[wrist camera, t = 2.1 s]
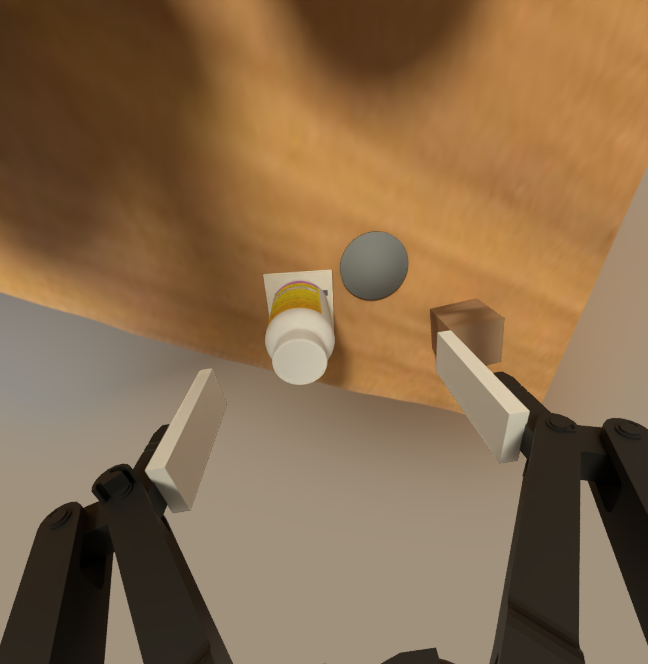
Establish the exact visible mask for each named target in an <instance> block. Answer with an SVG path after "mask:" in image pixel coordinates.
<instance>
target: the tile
mask: <svg viewBox="0 0 648 664" xmlns="http://www.w3.org/2000/svg"><path fill="white" fill-rule="evenodd" d="M263 277H264V284H265V291H266V297H267V304H268V311H269V317H270V313H271V308H272V303H273V299H274V296H275V294H276V292H277V291H278V290H279V288H280V287H282V286H283V285H284V284H286V283H288V282H290V281H293V280H306V281H310V282H312V283H314V284H316V285H317V286H319V287H320V288H321V289H322V291H323V292H324V294H325V296H326V298H327V302H328V306H329V312H330V317H331V322H332V326H333V331H334V318H333V291H332V270H317V271H302V272H287V273H272V274H263Z"/></svg>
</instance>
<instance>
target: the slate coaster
mask: <svg viewBox="0 0 648 664" xmlns="http://www.w3.org/2000/svg"><path fill="white" fill-rule="evenodd" d="M407 270H408V256H407V252H406V250H405V248H404V246H403V244H402V243H401V242H400V241H399V240H398V239H397V238H396V237H394V236H392V235H390V234H388V233H385V232H380V231H374V232H368V233H365V234H363V235H360V236H359V237H357V238H356V239H354V240H353V241H352V242H351V243H350V244H349V245H348V247H347V248H346V249H345V251H344V253H343V255H342V258H341V263H340V274H341V278H342V280H343V283H344V285H345V286H346V288H347V289H348V290H349V291H350V292H351V293H352V294H354V295H355V296H357V297H360V298H363V299H368V300H374V299H380V298H383V297H385V296H387V295H389V294H391V293H392V292H394V291H395V290H396V289H397V288H398V287H399V286H400V285H401V283H402V282H403V280H404V278H405V276H406V273H407Z"/></svg>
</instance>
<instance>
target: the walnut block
mask: <svg viewBox="0 0 648 664" xmlns="http://www.w3.org/2000/svg"><path fill="white" fill-rule="evenodd" d="M430 318H431V335H432V348H433V349H434V351H435V352H436V353H437V332H443V331H449V330H451V331H452V332H453V333H454V334H455V335H456V336H457V337H458V338H459V339H460V340H461V341H462V342H463V343H464V344H465V345H466V346H467V348H468V349H469V350H470V351H471V352H472V353H473V354H474V355H475V356H476V357H477V358H478V359H479V360H480V361H481V362H482V363H483V364H484V365H490V364H494V363H499V362H501V358H502V345H503V333H504V320H505V318H504V317H502V316H501V315H500V314H498V313H497V312H495V311H494V310H492V309H491V308H489V307H488V306H487V305H485V304H484V303H482V302H481V301H479V300H478V299H477V298H476V299H472V300H467V301H463V302H459V303H454V304H450V305H446V306H441V307H437V308H433V309H430Z"/></svg>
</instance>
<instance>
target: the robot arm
mask: <svg viewBox="0 0 648 664" xmlns="http://www.w3.org/2000/svg"><path fill="white" fill-rule="evenodd" d="M436 372H437V374H438V375H439V377H440V378H441V379H442V381H443V382H444V384H445V385H446V387H447V388H448V390H449V391H450V393H451V394H452V395H453V397H454V398H455V400H456V401H457V403H458V404H459V406H460V407H461V408H462V410H463V411H464V413H465V414H466V416H467V417H468V419H469V420H470V421H471V423H472V424H473V426H474V427H475V429H476V430H477V431H478V433H479V434H480V436H481V437H482V439H483V440H484V442H485V443H486V445H487V446H488V447H489V449H490V450H491V452H492V453H493V455H494V456H495V458H496V459H497V461H498V462H499V463H506V462H513V461H518V458H519V454H520V451H521V452H522V453H523V455H524V456H525V457H526V458H527V461H526V464H525V469H524V472H523V482H522V487H521V493H520V499H519V505H518V510H517V516H516V522H515V527H514V533H513V539H512V544H511V550H510V555H509V562H508V567H507V572H506V578H505V584H504V590H503V596H502V601H501V607H500V612H499V618H498V624H497V629H496V635H495V640H494V646H493V650H492V655H491V659H490V664H585V660H584V655H583V652H582V651H581V649H580V646H579V559H580V554H579V553H580V480H586V481H588V483H589V486H590V488H591V491H592V494H593V497H594V499H595V502H596V505H597V508H598V510H599V513H600V516H601V518H602V521H603V524H604V527H605V529H606V532H607V535H608V538H609V540H610V543H611V546H612V548H613V551H614V554H615V557H616V559H617V562H618V565H619V568H620V570H621V573H622V576H623V579H624V581H625V584H626V587H627V590H628V592H629V595H630V598H631V600H632V603H633V606H634V609H635V612H636V614H637V617H638V620H639V623H640V625H641V628H642V631H643V633H644V636H645V638H646V642H647V644H648V429H646V428H645V427H643V426H642V425H640V424H638V423H635V422H633V421H630V420H626V419H621V418H611V419H608V420H606V421H605V423H604V424H603V426H602V427H591V426H580V425H577V424H576V423H575V422H574V421H572V420H570V419H569V418H568V417H565V416H562V415H560V414H554V413H551V412H550V411H548V410H547V409H546V408H545V407H544V406H543V405H542V404H541V403H540V402H539V401H538V400H537V399H536V398H535V397H534V396H533V395H531V394H530V393H529V392H527V390H526V389H525V388H524V387H523V386H521V384H520V383H519V382H518V381H517V380H516V379H515V378H513V377H512V376H510V375H508V374H506V373H504V372H496V373H492V372H491V371H490V370H489V369H488V368H487V367H486V366H485V365H484V364H483V363H482V362H481V361H480V360H479V359H478V358H477V357H476V356H475V355H474V354H473V353H472V352H471V351H470V350H469V349H468V348H467V346H466V345H465V344H464V343H463V342H462V341H461V340H460V339H459V338H458V337H457V336H456V335H455V334H454V333H453V332H452V331H451V330H449V331H443V332H437V356H436ZM226 406H227V403H226V401H225V398H224V395H223V393H222V390H221V388H220V385H219V383H218V380H217V378H216V375H215V373H214V370H213V368H210V369H203V370H200V371H199V372H198V374H197V376H196V378H195V380H194V382H193V383H192V385H191V387H190V389H189V391H188V393H187V394H186V396H185V398H184V400H183V402H182V404H181V405H180V407H179V409H178V411H177V413H176V415H175V416H174V418H173V420H172V422H171V424H168V425H162V426H161V427H160V428H159V429H158V430H157V432H155V433H154V434H153V436H152V438H151V440H150V441H149V444H148V445H147V446H146V448H145V450H144V452H143V453H142V455H141V457H140V458H139V460H138V462H137V463H136V465H135V467H134V469H132V468H131V467H130V466H129V465H128V464H120V465H116V466H114V467H112V468H110V469H108V470H107V471H105V472H104V473H103V474H101V476H99V477H98V479H96V481H95V482H94V484H93V486H92V493H93V494H94V495H95V496H96V497H97V499H98V500H99V502H96V503H94V504H91V505H89V506H86V507H85V508H83V507H82V506H81V505H80V504H79V503H78V502H70V503H67V504H64V505H62V506H60V507H58V508H57V509H55V510H54V511H53V512H51V513H50V514H49V515H48V516H47V517H46V518H45V519H44V520H43V522H42V523H41V524H40V526H39V528H38V530H37V533H36V536H35V539H34V542H33V546H32V548H31V552H30V555H29V558H28V561H27V564H26V567H25V570H24V574H23V576H22V580H21V583H20V586H19V589H18V592H17V595H16V598H15V601H14V604H13V607H12V610H11V613H10V616H9V619H8V622H7V626H6V629H5V632H4V635H3V638H2V641H1V644H0V664H104V659H105V647H106V635H107V623H108V611H109V599H110V587H111V575H112V563H113V562H112V561H113V553H114V552H115V554H116V558H117V562H118V566H119V570H120V574H121V578H122V581H123V585H124V589H125V593H126V597H127V601H128V605H129V609H130V612H131V616H132V620H133V624H134V628H135V632H136V636H137V640H138V644H139V647H140V651H141V655H142V659H143V663H144V664H233V662H232V660H231V658H230V656H229V654H228V652H227V649H226V647H225V645H224V643H223V641H222V639H221V636H220V634H219V632H218V630H217V628H216V626H215V623H214V621H213V619H212V617H211V615H210V613H209V610H208V608H207V606H206V604H205V602H204V600H203V597H202V595H201V593H200V591H199V589H198V587H197V584H196V582H195V580H194V578H193V576H192V574H191V571H190V569H189V567H188V565H187V563H186V561H185V558H184V556H183V554H182V552H181V550H180V548H179V546H178V543H177V541H176V539H175V537H174V535H173V532H172V530H171V528H170V526H169V524H168V522H167V519H166V518H165V516H164V515H163V514H164V512H165V509H166V507H167V505H168V507H169V508H170V510H171V511H172V513H178V512H184V511H190V510H191V508H192V505H193V502H194V499H195V496H196V493H197V490H198V487H199V484H200V481H201V478H202V476H203V472H204V470H205V467H206V464H207V461H208V458H209V455H210V452H211V449H212V446H213V443H214V441H215V438H216V435H217V431H218V429H219V426H220V423H221V420H222V417H223V414H224V411H225V408H226ZM381 664H454V663H452V662H449V661H447V660H443V659H439V657H438V653H437V650H436V648H430V649H423V650H416V651H409V652H402V653H399V654H397V655H395V656H394V657H392V658H390V659H388V660H387V661H385V662H383V663H381Z"/></svg>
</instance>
